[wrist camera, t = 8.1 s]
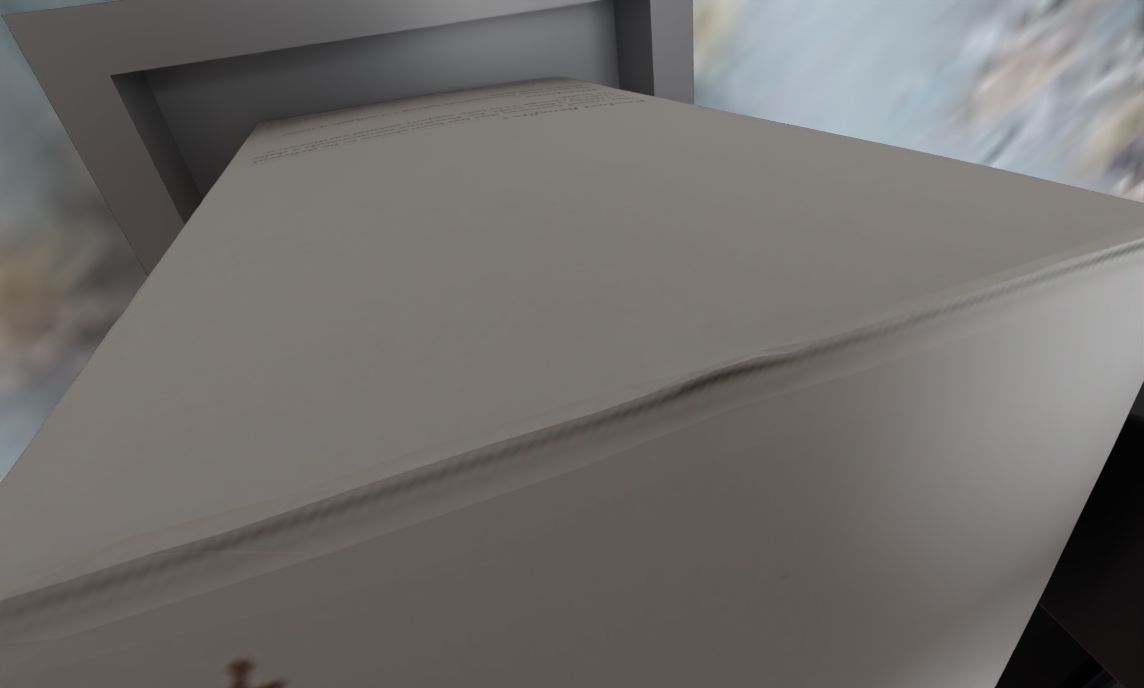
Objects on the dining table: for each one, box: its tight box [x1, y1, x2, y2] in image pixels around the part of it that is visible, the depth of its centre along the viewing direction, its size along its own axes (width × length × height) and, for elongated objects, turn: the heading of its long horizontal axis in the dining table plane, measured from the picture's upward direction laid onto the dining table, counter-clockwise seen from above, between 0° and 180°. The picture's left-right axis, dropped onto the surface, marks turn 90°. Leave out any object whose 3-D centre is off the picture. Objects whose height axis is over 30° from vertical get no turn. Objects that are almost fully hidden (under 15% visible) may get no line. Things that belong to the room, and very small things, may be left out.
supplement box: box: [0, 77, 1144, 688], centre depth 10 cm, size 7×7×13 cm
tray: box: [1, 0, 694, 276], centre depth 14 cm, size 12×12×2 cm
